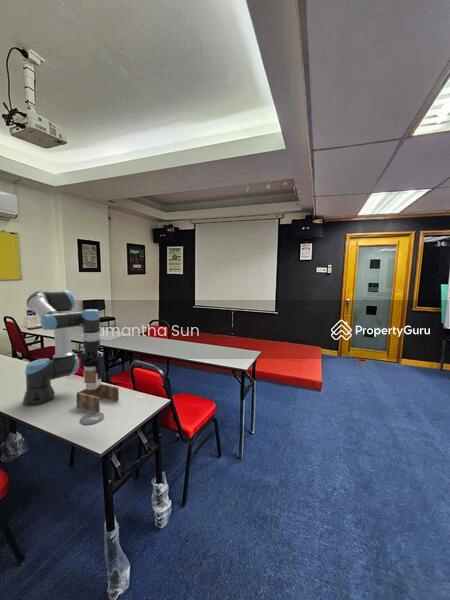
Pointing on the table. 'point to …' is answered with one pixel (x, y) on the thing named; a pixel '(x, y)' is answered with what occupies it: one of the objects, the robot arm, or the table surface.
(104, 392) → the wooden c-shaped bracket
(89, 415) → the coaster
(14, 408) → the table surface
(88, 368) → the coffee cup
